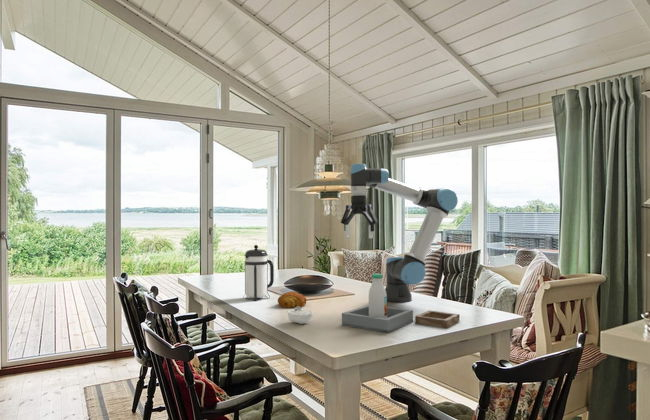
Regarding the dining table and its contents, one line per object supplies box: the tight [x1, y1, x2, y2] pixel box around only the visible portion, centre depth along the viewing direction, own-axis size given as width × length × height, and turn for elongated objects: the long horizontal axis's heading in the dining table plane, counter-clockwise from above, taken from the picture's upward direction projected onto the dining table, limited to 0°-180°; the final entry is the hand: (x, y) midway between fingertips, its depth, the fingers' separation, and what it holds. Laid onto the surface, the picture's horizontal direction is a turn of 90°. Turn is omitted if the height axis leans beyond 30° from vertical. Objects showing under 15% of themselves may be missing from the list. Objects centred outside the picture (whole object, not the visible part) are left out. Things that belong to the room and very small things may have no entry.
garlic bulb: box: [286, 307, 313, 325], centre depth 194 cm, size 10×12×7 cm
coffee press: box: [242, 244, 275, 302], centre depth 253 cm, size 17×16×30 cm
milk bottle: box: [368, 273, 388, 318], centre depth 191 cm, size 8×8×20 cm
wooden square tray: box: [414, 310, 461, 329], centre depth 192 cm, size 14×14×3 cm
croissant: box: [277, 291, 308, 309], centre depth 231 cm, size 14×16×8 cm
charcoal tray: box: [341, 304, 414, 334], centre depth 191 cm, size 22×22×5 cm
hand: (359, 238), depth 223 cm, fingers open, 13 cm apart
